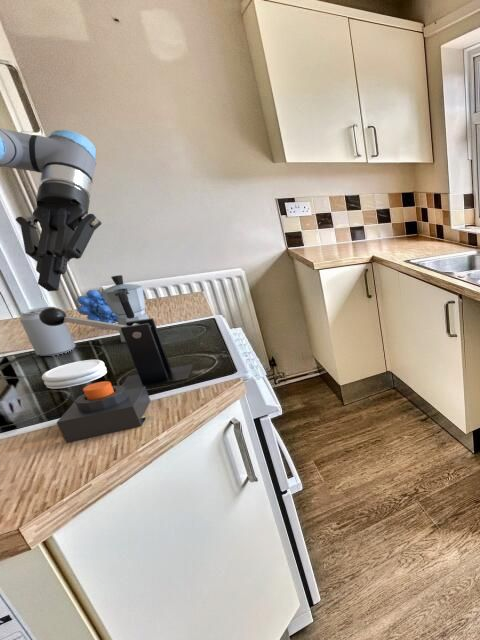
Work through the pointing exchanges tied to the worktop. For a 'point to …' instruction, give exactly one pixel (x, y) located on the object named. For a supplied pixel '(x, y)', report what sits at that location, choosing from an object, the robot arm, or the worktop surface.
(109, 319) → the grapes
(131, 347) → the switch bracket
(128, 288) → the coffee maker
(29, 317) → the can
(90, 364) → the white thick disc
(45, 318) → the lever
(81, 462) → the worktop surface
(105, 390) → the stop button
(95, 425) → the control block
